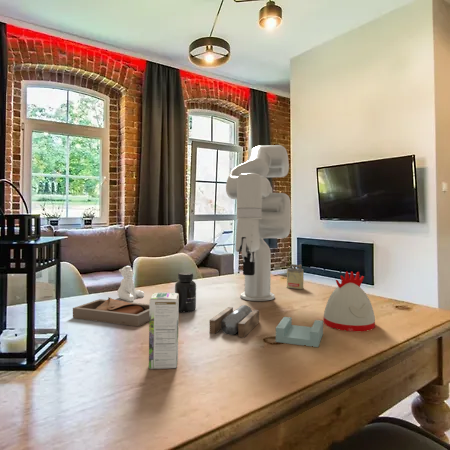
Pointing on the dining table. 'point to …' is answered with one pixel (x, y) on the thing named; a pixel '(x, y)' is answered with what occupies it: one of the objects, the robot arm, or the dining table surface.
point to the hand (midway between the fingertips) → (248, 274)
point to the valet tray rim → (110, 314)
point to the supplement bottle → (186, 292)
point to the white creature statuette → (128, 286)
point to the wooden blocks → (243, 326)
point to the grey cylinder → (235, 319)
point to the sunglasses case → (120, 307)
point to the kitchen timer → (349, 306)
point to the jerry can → (295, 277)
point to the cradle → (299, 333)
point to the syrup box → (163, 330)
